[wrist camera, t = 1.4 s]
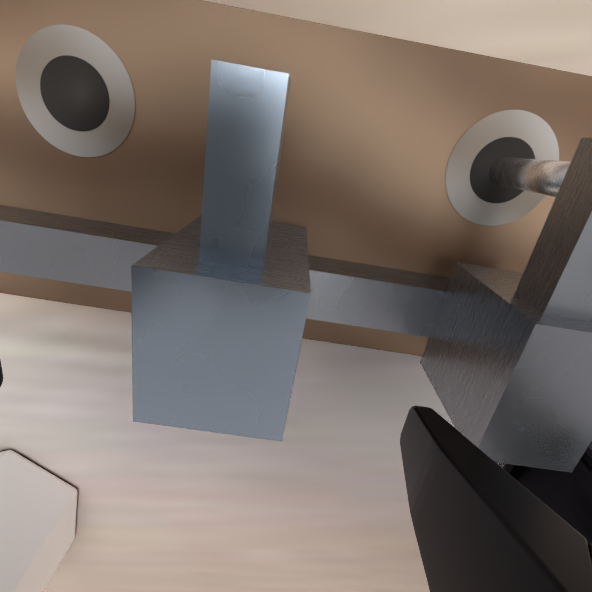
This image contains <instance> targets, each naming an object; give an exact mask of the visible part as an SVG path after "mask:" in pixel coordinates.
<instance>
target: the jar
mask: <svg viewBox="0 0 592 592" xmlns="http://www.w3.org/2000/svg"><path fill="white" fill-rule="evenodd" d="M76 509H77V489H76V488H75V487H73V486H71V485H69V484H68V483H66V482H64V481H63V480H61V479H59V478H58V477H56V476H54V475H53V474H51V473H49V472H48V471H46V470H44V469H43V468H41V467H39V466H38V465H36V464H34V463H33V462H31V461H29V460H28V459H26V458H24V457H23V456H21V455H19V454H18V453H16V452H14V451H12V450H7V451H3V452H0V592H44V591H45V589H46V587H47V585H48V584H49V582H50V580H51V578H52V577H53V575H54V573H55V571H56V570H57V568H58V566H59V564H60V563H61V561H62V559H63V557H64V556H65V554H66V552H67V550H68V549H69V547H70V545H71V543H72V542H73V540H74V538H75V527H76Z"/></svg>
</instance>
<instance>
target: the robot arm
mask: <svg viewBox="0 0 592 592" xmlns="http://www.w3.org/2000/svg"><path fill="white" fill-rule="evenodd" d="M2 382H3V373H2V367H1V361H0V387H1V385H2ZM400 446H401V453H402V459H403V466H404V473H405V480H406V487H407V494H408V501H409V507H410V513H411V517H412V522H413V526H414V530H415V534H416V538H417V542H418V546H419V550H420V553H421V557H422V561H423V565H424V569H425V573H426V577H427V581H428V585H429V589H430V592H592V441H591V443H590V444H589V446H588V447H587V449H586V451H585V452H584V454H583V455H582V457H581V459H580V460H579V462H578V463H577V465H576V467H575V468H574V470H573V471H572V473H570V472H563V471H556V470H548V469H541V468H534V467H526V466H519V465H512V464H508V465H507V467H506V468H505V470H504V469H503V468H502V467H500V466H499V465H498V464H497V463H496V462H494V461H493V460H492V459H491V458H490V457H488V456H487V455H486V454H485V453H484V452H483V451H481V450H480V449H479V448H478V447H477V446H475V445H474V444H473V443H472V442H471V441H469V440H468V439H467V438H466V437H465V436H464V435H462V434H461V433H460V432H459V431H458V430H456V429H455V428H454V427H453V426H452V425H450V424H449V423H448V422H447V421H446V420H445V419H443V418H442V417H441V416H440V415H439V414H437V413H436V412H435V411H434V410H433V409H431V408H427V407H420V406H413V407H411V409H410V410H409V413H408V416H407V418H406V421H405V424H404V427H403V430H402V433H401V437H400Z"/></svg>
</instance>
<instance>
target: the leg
mask: <svg viewBox="0 0 592 592" xmlns="http://www.w3.org/2000/svg"><path fill="white" fill-rule="evenodd" d="M290 86H291V82H290V77H289V74H287V73H282V72H277V71H271V70H266V69H261V68H255V67H250V66H245V65H239V64H234V63H228V62H223V61H218V60H212V59H211V74H210V90H209V106H208V122H207V138H206V154H205V170H204V185H203V201H202V215H200V216H199V217H197V218H196V219H195V220H193V221H192V222H191V223H189V224H188V225H186V226H185V227H184V228H182V229H181V230H179V231H178V232H177V233H175V234H174V235H173V236H171V237H170V238H168V239H167V240H166V241H164V242H163V243H161V244H160V245H159V246H157V247H156V248H155V249H153V250H152V251H150V252H149V253H148V254H146V255H145V256H144V257H142V258H141V259H139V260H138V261H137V262H135V263H134V264H132V265H131V285H132V368H133V421H135V422H142V423H150V424H157V425H164V426H172V427H179V428H187V429H194V430H201V431H209V432H216V433H224V434H231V435H238V436H246V437H253V438H261V439H268V440H275V441H282V439H283V434H284V429H285V423H286V418H287V413H288V408H289V403H290V398H291V393H292V387H293V382H294V377H295V372H296V367H297V362H298V356H299V351H300V346H301V341H302V336H303V331H304V326H305V320H306V315H307V310H308V305H309V300H310V295H311V290H310V274H309V259H308V243H307V228H306V227H303V226H297V225H291V224H285V223H279V222H273V221H272V216H273V209H274V202H275V195H276V187H277V180H278V173H279V166H280V158H281V151H282V144H283V136H284V129H285V122H286V115H287V107H288V100H289V93H290Z"/></svg>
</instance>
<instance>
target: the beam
mask: <svg viewBox="0 0 592 592" xmlns="http://www.w3.org/2000/svg"><path fill="white" fill-rule="evenodd" d="M489 176H490V179H491V181H492V182H493V183H495V184H497V185H502V186H506V187H511V188H516V189H520V190H525V191H530V192H534V193H539V194H544V195H548V196H553V197H556V198H555V200H554V202H553V205H552V207H551V209H550V212H549V214H548V216H547V219H546V221H545V223H544V226H543V228H542V230H541V233H540V235H539V237H538V240H537V242H536V244H535V247H534V249H533V251H532V254H531V256H530V258H529V261H528V263H527V265H526V268H525V270H524V272H523V273H522V272H516V271H510V270H503V269H497V268H491V267H485V266H479V265H473V264H467V263H461V262H455V263H454V266H453V269H452V272H451V275H450V278H449V277H443V276H437V275H431V274H425V273H419V272H412V271H406V270H400V269H394V268H388V267H381V266H375V265H369V264H363V263H357V262H351V261H344V260H338V259H332V258H326V257H320V256H314V255H308V259H309V274H310V290H311V295H310V300H309V305H308V310H307V315H306V319H313V320H320V321H326V322H333V323H339V324H346V325H352V326H359V327H365V328H372V329H378V330H385V331H391V332H398V333H405V334H411V335H418V336H424V337H429V338H428V341H427V344H426V347H425V350H424V352H423V355H422V358H421V361H420V363H421V365H422V367H423V369H424V371H425V373H426V374H427V376H428V378H429V380H430V382H431V384H432V385H433V387H434V389H435V391H436V393H437V395H438V397H439V398H440V400H441V402H442V404H443V406H444V408H445V409H446V411H447V413H448V415H449V417H450V419H451V421H452V422H453V424H454V426H455V428H456V430H458V431H459V432H460V433H461V434H462V435H464V436H465V437H466V438H467V439H468V440H469V441H471V442H472V443H473V444H474V445H475V446H477V447H478V448H479V449H480V450H481V451H483V452H484V453H485V454H486V455H487V456H488V457H490V458H491V459H492V460H493V461H494V462H497V463H504V464H512V465H519V466H526V467H534V468H541V469H548V470H556V471H563V472H570V473H572V471H573V470H574V468H575V467H576V465H577V463H578V462H579V460H580V459H581V457H582V455H583V454H584V452H585V451H586V449H587V447H588V446H589V444H590V443H591V441H592V138H581V139H580V142H579V144H578V146H577V149H576V151H575V153H574V156H573V158H572V160H571V162H567V161H553V160H539V159H525V158H511V157H503V158H500V159H498V160H496V161H495V162H494V163H493V165H492V166H491V168H490V172H489ZM174 234H175V233H172V232H165V231H159V230H153V229H147V228H141V227H134V226H128V225H122V224H116V223H110V222H104V221H97V220H91V219H85V218H79V217H73V216H67V215H60V214H54V213H48V212H42V211H36V210H29V209H23V208H17V207H11V206H5V205H0V272H6V273H12V274H19V275H25V276H32V277H38V278H45V279H51V280H58V281H64V282H71V283H77V284H84V285H91V286H97V287H104V288H110V289H117V290H123V291H130V292H132V285H131V265H132V264H134V263H135V262H137V261H138V260H139V259H141V258H142V257H144V256H145V255H146V254H148V253H149V252H150V251H152V250H153V249H155V248H156V247H157V246H159V245H160V244H161V243H163V242H164V241H166V240H167V239H168V238H170V237H171V236H173V235H174Z"/></svg>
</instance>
